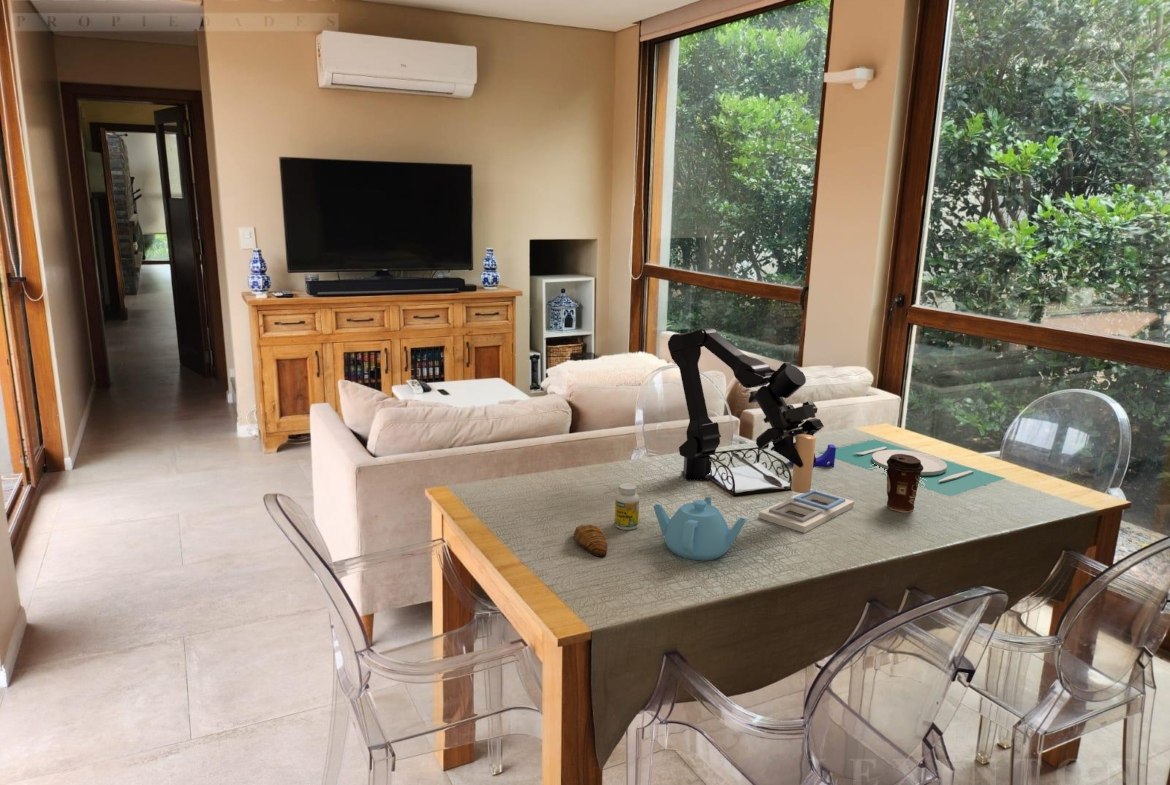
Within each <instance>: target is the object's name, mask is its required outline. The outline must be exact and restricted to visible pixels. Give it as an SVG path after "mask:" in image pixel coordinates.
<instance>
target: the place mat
mask: <svg viewBox="0 0 1170 785" xmlns="http://www.w3.org/2000/svg"><path fill="white" fill-rule="evenodd" d="M825 451H826V450H824V451H819V452H818V454H820V455H823V454H824V453H825ZM894 454H906V455H911V456H914V457H916V458H918V459H919V460H920V461H921V464H922V466H923V470H922V471H921V473H920V474H921V476H920V477H921V478H920V480H922V481H923V482H924V483H925V487H924V488H923V489H927V490H929V491H933V492H936V493H938V494H941V495H944V496H947V497H954V496H956V495H960V494H962V493H966V492H968V491H971V490H975V489H977V488H978V489H979V488H981V487H983V486H987V485H990V484H993V483H995V482H996V483H997V482H999V481H1001V480H1004V479H1006V477H1003V476H999V475H996V474H993V473H988V472H986V471H982V470H979V469H976V468H972V467H969V466H966V465H961V464H959V463H956V462H952V461H949V460H945V459H941V458H939V457H936V456H934V455H931V454H926V453H922V452H918V451H914V450H911V449H908V448H904V447H901V446H899V445H896V444H895V445H894V444H891V443H888V442H885V441H882V440H877V439H872V440H867V441H864V442H863V441H862V442H858V443H854V444H849V445H845V446H842V447H841V446H840V447H836V452H835V460H837V461H841V462H844V463H848V464H850V465H853V466H857V467H858V468H863V469H865V470H868V471H872V472H874V471H873V469H877V468H873V469H868V468H872V467H875V466H877V465H878V466H879V468H880V467H882V468H884V470H885V469H887V470H886V471H888V464H887V460H888V459H889V457H890V456H892V455H894ZM874 463H875V464H874ZM872 464H874V465H872ZM870 465H872V466H870ZM884 472H885V471H884ZM886 473H887V472H886ZM883 474H885V473H883ZM883 474H882V475H883ZM884 476H886V474H885V475H884ZM922 478H924V479H926V480H927V481H926V480H924V479H922ZM920 480H919V481H920ZM922 481H921V482H922ZM921 486H924V485H923V484H921V483H920V482H919V486H918V487H920V488H922V487H921Z"/></svg>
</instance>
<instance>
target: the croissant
mask: <svg viewBox="0 0 1170 785" xmlns="http://www.w3.org/2000/svg"><path fill="white" fill-rule="evenodd" d="M573 536H574V539H575V541H576V542H577V544H579V546H580V547H581V548H582V549H584V550H586V551H587V552H588V553H590V554H592V555H593V556H597V557H599V558H600V557H602V558H603V557H606V556H607V553H608V552H607V551H608V542H607V538H606V535H605V533H604V532H603V531H602V529H601V528H600V527H598V526H596V525H593V524H587V525H582V524H581V525H578V526H576V527H575V529H574V532H573Z"/></svg>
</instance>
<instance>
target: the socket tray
mask: <svg viewBox="0 0 1170 785" xmlns="http://www.w3.org/2000/svg"><path fill="white" fill-rule="evenodd" d="M812 500H814V501H817V500H818V501H817V502H821V503H825V504H827V505H824V504H820V503H817V502H814V501H812ZM854 506H855V501H854V500H852V499H848V498H844V497H841V496H838V495H835V494H831V493H829V492H824V491H821V490H816V489H814V488H811V490H810V492H809V493H798V494H795V495H793V496H790V497H788V498H786V499H785V500H781V501H779V502H778V503H775V504H773V505H771V506H769V507H767V508H765V509H762V510H760V511H759V512H758V519H761V520H763V521H767V522H770V523H774V524H776V525H779V526H782V527H785V528H788V529H792V530H795V531H796V532H797V531H798V532H801V533H802V534H803V533H804V534H806V533H808V532H809V531H811V530H812V529H815V528H816V527H819V526H820V525H822V524H824V523H826V522H828V521H830V520H832V519H833V517H834V518H836V517H837V516H839V515H841V514H843V513H845V512H847V511H849V510H851V509H853V508H854ZM787 512H794V513H797V514H800V515H802V516H803V517H800V516H796V515H793V514H791V513H787ZM835 516H836V517H835ZM831 518H832V519H831Z"/></svg>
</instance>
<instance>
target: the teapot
mask: <svg viewBox="0 0 1170 785" xmlns="http://www.w3.org/2000/svg"><path fill="white" fill-rule="evenodd" d="M653 510H654V513H655V516H656V519H657V521H658V525H659V527H660V531H661V533H662V536H664V541H665V544H666V545H667V547H668V549H669V550H670V551H671V552H672V553H674V554H675V555H676V556H679V557H681V558H684V559H686V560H692V561H693V560H694V561H710V560H711V561H712V560H716V559H718V558H720V557H722V556H723V555H724V554H725V553H726V552H727V551H728V550H730V548H731V546H732V545H733V544H734V542H735V540H736V539H737V538H738V535H739V534H740V532H741V530H742V528H744V525H745V524H746V521H747V520H748V519H747V518H744V517H738V519H737V521H736V522H735V523H734V525H733V526H732V528H731V529H729V527H728V523H727V522H726V519H724V516H723V514H722V513H721V511H720V510H719V509H718V508H717V507H716V506H714V505H712V498H711V497H710V496H709V497H708V496H705V498H704V499H703V500H701V499H695V500H693V502H688V503H687V502H686V503H684V504H682V505H681V506H680V507H679V508H678V509H677V510H676V511H675V513H674V514H673V515H672V517H671V518H670V517H669V515H668V514H667V512H666V511H665V509H664V507H663V505H662V504H658V503H657V504H656V503H655V504H653Z"/></svg>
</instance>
